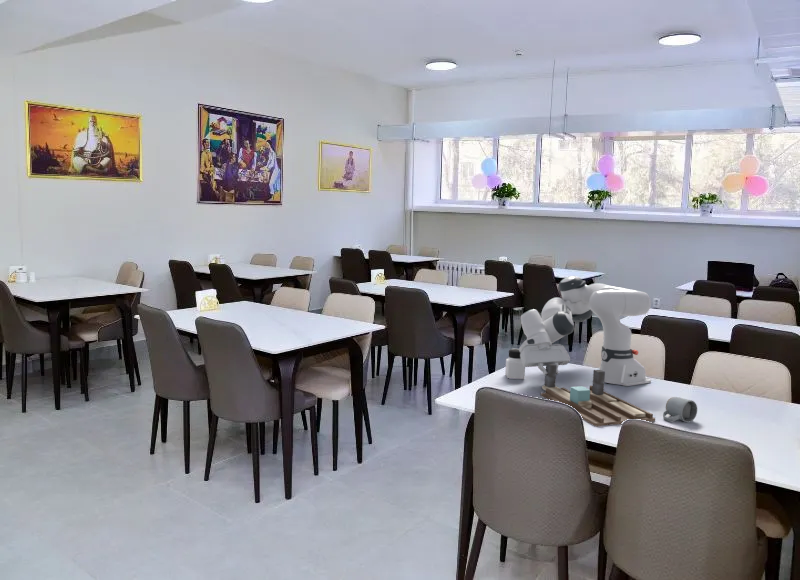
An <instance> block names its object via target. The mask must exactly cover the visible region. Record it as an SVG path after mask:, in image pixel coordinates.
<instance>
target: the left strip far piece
mask: <svg viewBox="0 0 800 580" xmlns="http://www.w3.org/2000/svg"><path fill="white" fill-rule="evenodd" d="M610 403H612V404H614V405H616V406H618V407H620V408H622V409H624V410H626V411H628V412H630V413H632V414H634V415H636V417H645V416H646V413H644V412H642V411H640V410H638V409H635V408H633V407H631V406H629V405H627V404H625V403H623V402H621V401H619V402H610Z"/></svg>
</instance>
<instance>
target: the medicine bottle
mask: <svg viewBox="0 0 800 580" xmlns="http://www.w3.org/2000/svg"><path fill="white" fill-rule="evenodd" d="M520 354H521V353H520V351H519V348H511V349H509V350H508V358H506V359H505V373H504V374H505V376H506V378H507V379H508V378H509V380H510V379H511V380H525V377H526V376H525V374H526V373H525V372H526V371H525V370H526V367H525V366H523V364H522V361H521V358H520Z"/></svg>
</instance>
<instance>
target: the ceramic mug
mask: <svg viewBox="0 0 800 580" xmlns="http://www.w3.org/2000/svg"><path fill="white" fill-rule="evenodd" d="M697 414H698V404H697V403H696V402H695V401H694V400H693V399H687V398H682V397H681V396H679V397H678V396H671V397H670V398H669V399H668V400H667V401H666V404H665V411H663V413H662V417H663V419H664V420H665V421H667V422H675V421H678V420H679V421H682V422H684V423H691V422H693V421H694V420H695V418H696V417H697ZM667 415H668V416H670V417H667Z"/></svg>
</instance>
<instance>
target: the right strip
mask: <svg viewBox="0 0 800 580" xmlns="http://www.w3.org/2000/svg"><path fill="white" fill-rule="evenodd" d="M556 368H557V365H556V364H554V363H546V366H545V369H548V372H549V374H548V375H544V385H542V387H541V388H542V390H544V391H546V389H550V390H552V391H554V392H556V393H558V394H559V395H561V396H563V397H565V398H567V399H569V400H570V393H568V392H566V391H564V390H562V389H561V387H558V386H557V385H556V384H557V383H556V381H557V375H556ZM578 405H580V406H582V407H584V408H591V407H592V401H578Z"/></svg>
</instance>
